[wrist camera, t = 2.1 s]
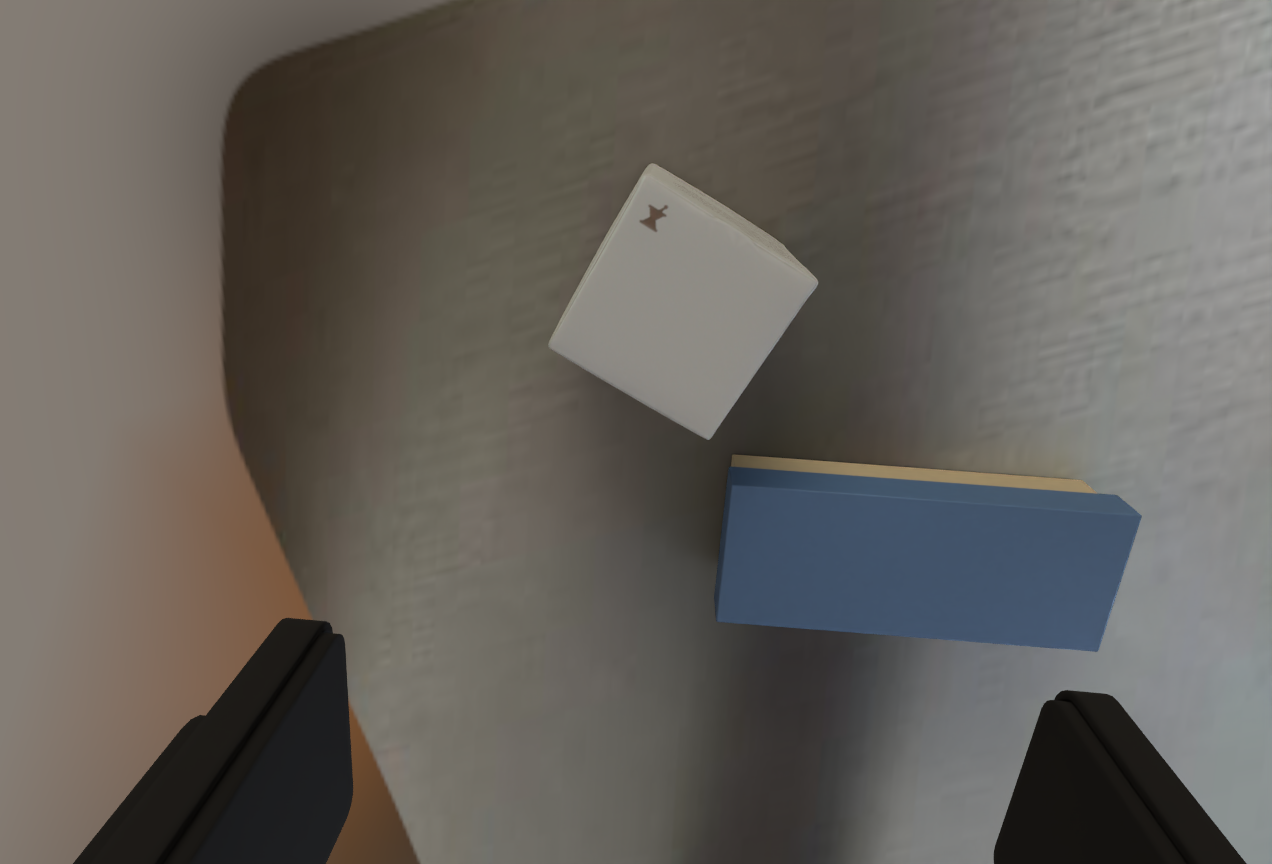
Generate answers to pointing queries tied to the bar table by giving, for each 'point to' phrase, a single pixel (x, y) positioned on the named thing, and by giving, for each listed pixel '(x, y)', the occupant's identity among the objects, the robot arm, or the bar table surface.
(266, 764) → the robot arm
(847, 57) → the bar table surface
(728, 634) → the bar table surface
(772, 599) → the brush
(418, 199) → the bar table surface
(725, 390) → the product box
